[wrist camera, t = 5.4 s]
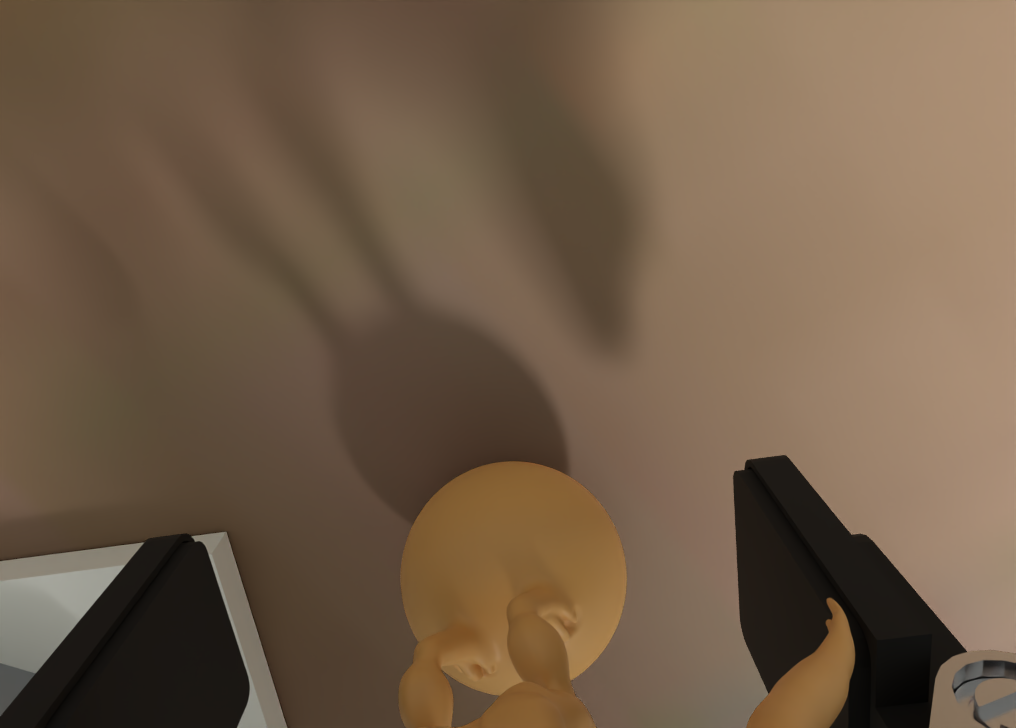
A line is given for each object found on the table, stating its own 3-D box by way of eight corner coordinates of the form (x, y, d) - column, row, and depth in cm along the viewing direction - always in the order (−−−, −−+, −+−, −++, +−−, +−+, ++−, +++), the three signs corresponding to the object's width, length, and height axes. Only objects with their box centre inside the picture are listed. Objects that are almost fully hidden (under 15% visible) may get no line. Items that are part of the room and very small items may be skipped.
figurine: (384, 666, 16) (116, 2005, 5) (227, 444, 14) (-818, 1714, 3) (736, 507, 15) (1514, 1749, 4) (611, 247, 13) (1348, 1039, 2)
